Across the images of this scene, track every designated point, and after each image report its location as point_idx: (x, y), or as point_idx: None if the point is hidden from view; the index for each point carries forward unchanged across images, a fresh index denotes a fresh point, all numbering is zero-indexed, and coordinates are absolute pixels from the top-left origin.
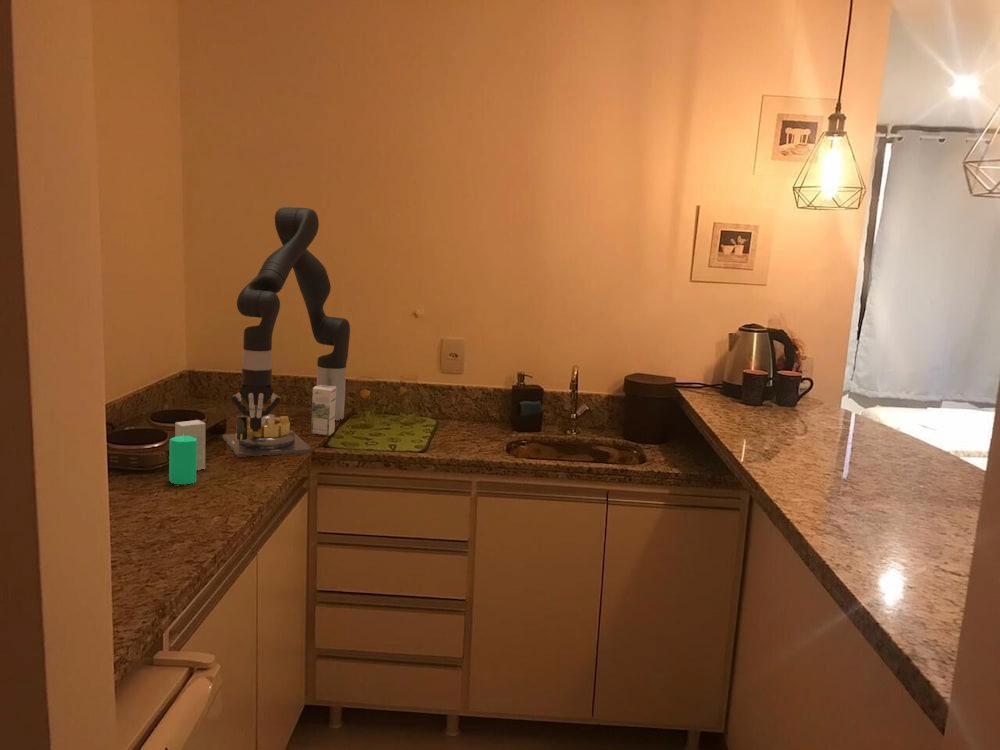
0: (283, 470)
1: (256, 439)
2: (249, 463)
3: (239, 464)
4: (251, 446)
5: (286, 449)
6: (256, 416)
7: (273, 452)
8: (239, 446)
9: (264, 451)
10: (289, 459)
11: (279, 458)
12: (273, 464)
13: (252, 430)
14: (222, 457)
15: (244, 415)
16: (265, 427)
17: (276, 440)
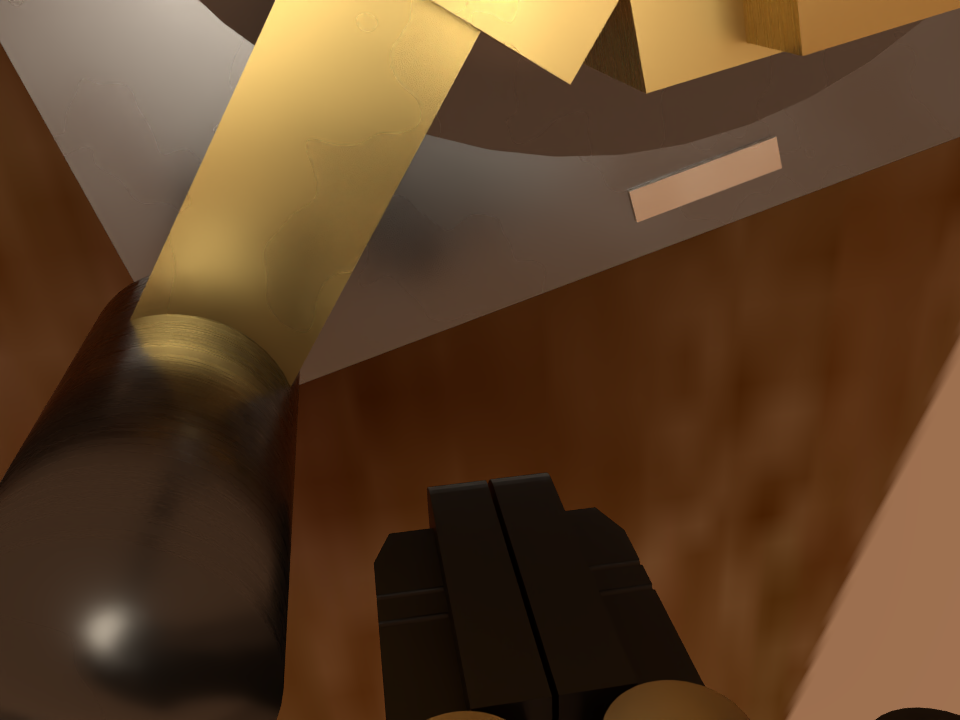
0: (742, 705)
1: (439, 128)
2: None
3: (298, 621)
4: None
5: (864, 115)
6: (564, 706)
7: (674, 239)
8: (119, 5)
9: (556, 258)
10: (838, 375)
11: (729, 352)
12: (656, 565)
13: (374, 213)
14: (6, 408)
15: (129, 546)
16: (674, 81)
17: (785, 105)
